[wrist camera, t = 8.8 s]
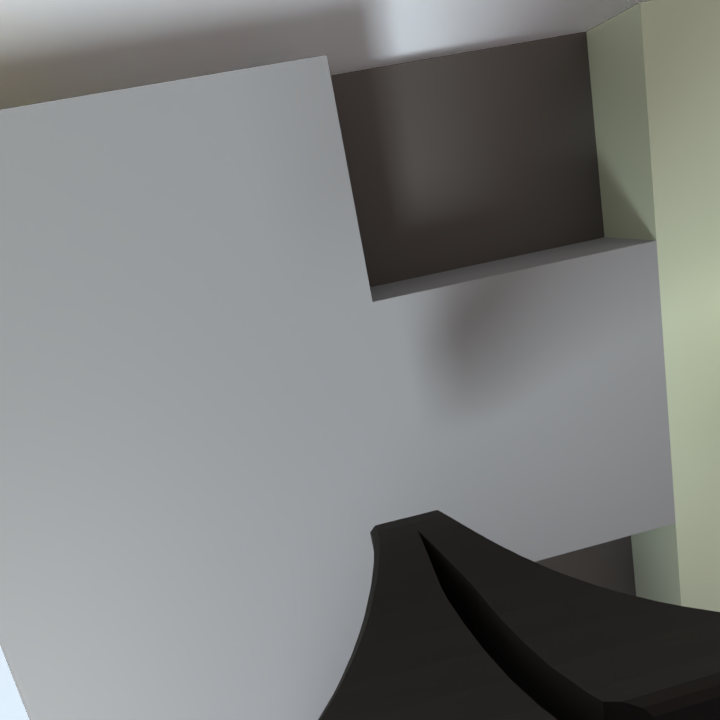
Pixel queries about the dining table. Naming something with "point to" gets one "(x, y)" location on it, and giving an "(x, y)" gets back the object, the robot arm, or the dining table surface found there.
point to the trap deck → (350, 352)
